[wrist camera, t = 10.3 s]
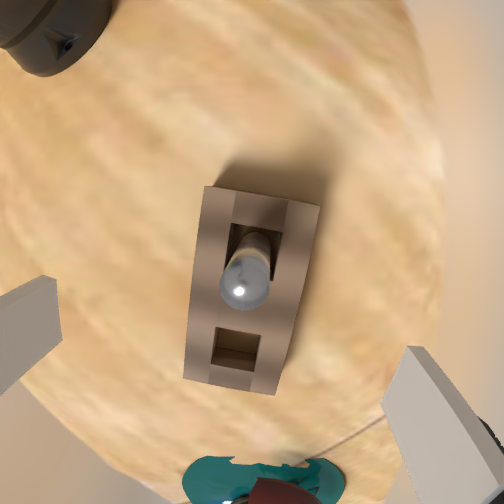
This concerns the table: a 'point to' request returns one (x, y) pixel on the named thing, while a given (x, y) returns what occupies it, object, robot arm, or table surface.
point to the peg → (247, 273)
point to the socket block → (251, 321)
